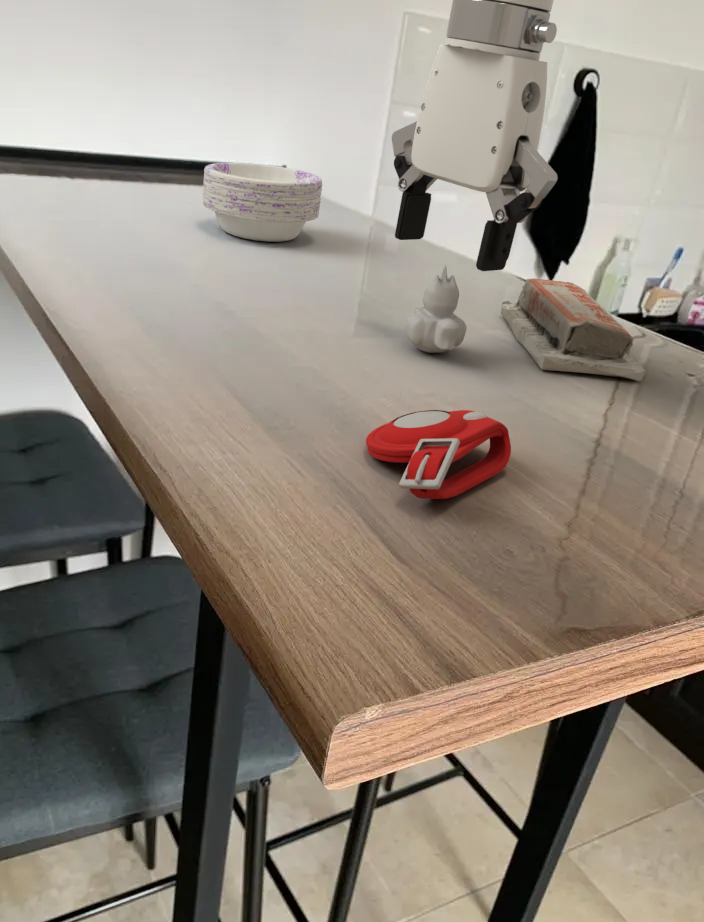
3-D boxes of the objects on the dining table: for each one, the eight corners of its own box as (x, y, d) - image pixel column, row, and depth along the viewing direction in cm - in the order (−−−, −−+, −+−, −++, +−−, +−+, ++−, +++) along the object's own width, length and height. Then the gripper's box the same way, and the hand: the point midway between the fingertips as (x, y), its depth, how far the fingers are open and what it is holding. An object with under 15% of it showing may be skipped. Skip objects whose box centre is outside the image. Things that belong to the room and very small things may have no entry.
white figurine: (444, 341, 83) (461, 258, 79) (473, 366, 78) (493, 278, 74) (392, 340, 82) (407, 254, 78) (418, 365, 76) (436, 275, 72)
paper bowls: (192, 216, 118) (195, 155, 114) (298, 225, 122) (305, 166, 119) (211, 244, 105) (216, 176, 101) (329, 252, 110) (338, 187, 106)
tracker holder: (341, 418, 60) (469, 386, 63) (351, 477, 62) (476, 444, 64) (408, 459, 49) (561, 418, 52) (418, 530, 51) (566, 487, 53)
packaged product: (507, 270, 92) (596, 281, 93) (496, 314, 95) (583, 325, 96) (553, 320, 77) (659, 334, 78) (539, 372, 79) (643, 384, 80)
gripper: (616, 52, 64) (552, 280, 72) (446, 26, 75) (407, 227, 83) (557, 40, 59) (496, 285, 68) (385, 14, 70) (350, 229, 78)
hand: (447, 253), depth 75 cm, fingers open, 9 cm apart
